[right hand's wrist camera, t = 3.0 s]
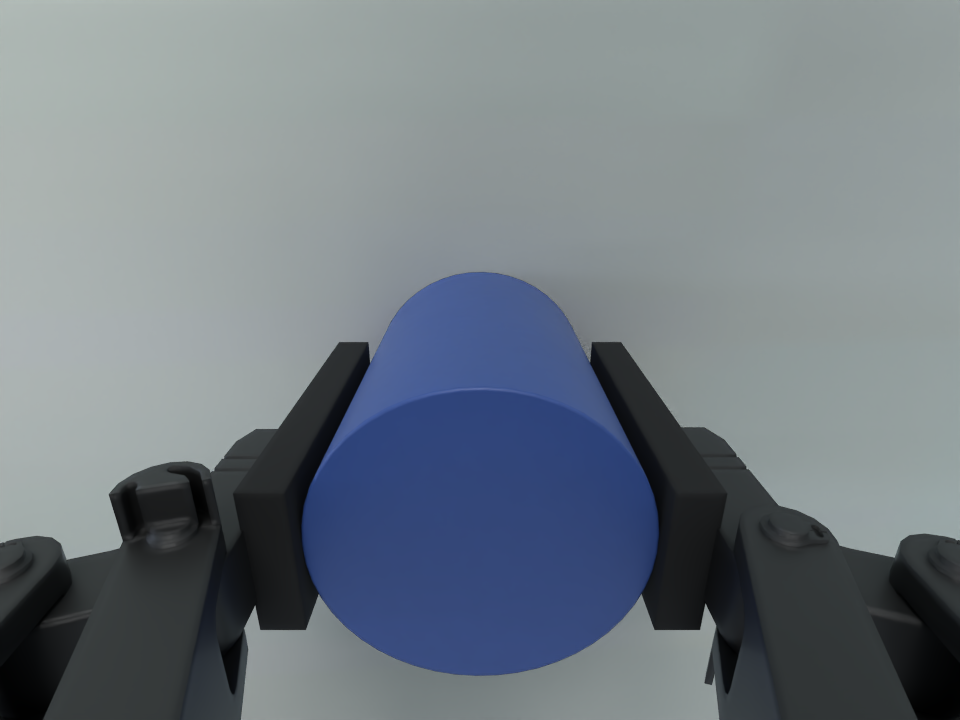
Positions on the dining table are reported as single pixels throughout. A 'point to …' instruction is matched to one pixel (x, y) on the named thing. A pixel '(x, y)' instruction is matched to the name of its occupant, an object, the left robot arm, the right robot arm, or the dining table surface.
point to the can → (480, 489)
